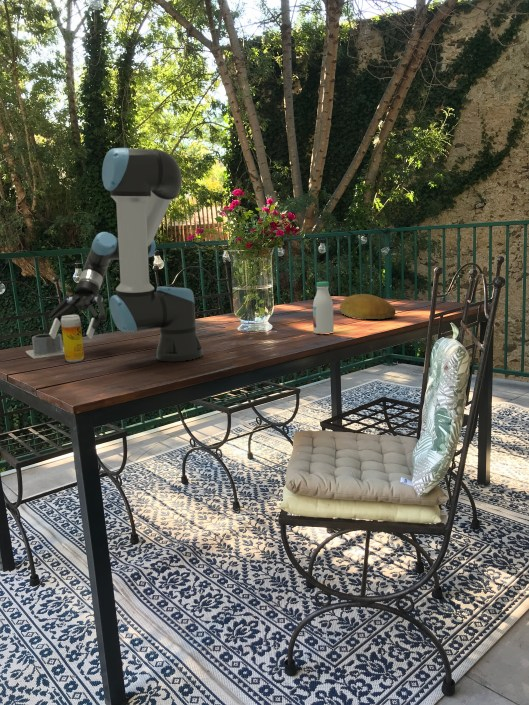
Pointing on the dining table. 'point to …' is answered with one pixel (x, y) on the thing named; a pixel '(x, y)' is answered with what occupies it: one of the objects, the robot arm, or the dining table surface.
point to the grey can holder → (46, 346)
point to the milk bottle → (322, 309)
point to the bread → (366, 307)
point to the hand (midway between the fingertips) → (70, 336)
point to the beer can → (72, 338)
